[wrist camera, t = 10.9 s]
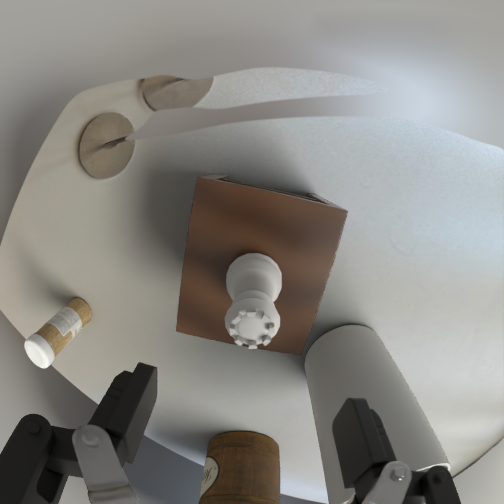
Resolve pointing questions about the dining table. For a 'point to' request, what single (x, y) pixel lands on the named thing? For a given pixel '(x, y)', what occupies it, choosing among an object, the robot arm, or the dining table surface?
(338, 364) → the cylinder vase
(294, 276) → the wooden lidded box
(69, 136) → the dining table surface
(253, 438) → the wooden container
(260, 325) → the rook chess piece
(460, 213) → the dining table surface
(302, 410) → the dining table surface
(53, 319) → the sprinkles bottle
